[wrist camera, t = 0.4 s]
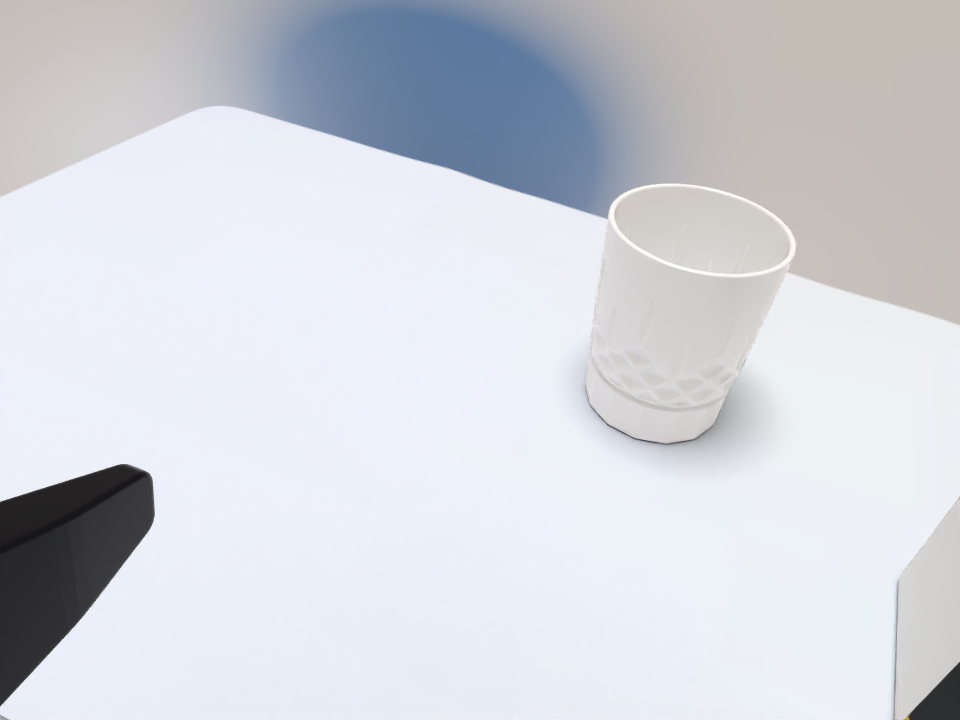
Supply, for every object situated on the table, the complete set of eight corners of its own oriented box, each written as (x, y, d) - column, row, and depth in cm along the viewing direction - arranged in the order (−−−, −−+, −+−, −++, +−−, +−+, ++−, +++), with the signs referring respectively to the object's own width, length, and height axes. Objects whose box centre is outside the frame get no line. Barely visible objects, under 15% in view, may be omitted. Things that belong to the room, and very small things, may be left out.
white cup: (544, 403, 37) (575, 227, 30) (617, 331, 42) (656, 167, 35) (691, 480, 33) (759, 300, 27) (750, 391, 39) (820, 223, 32)
